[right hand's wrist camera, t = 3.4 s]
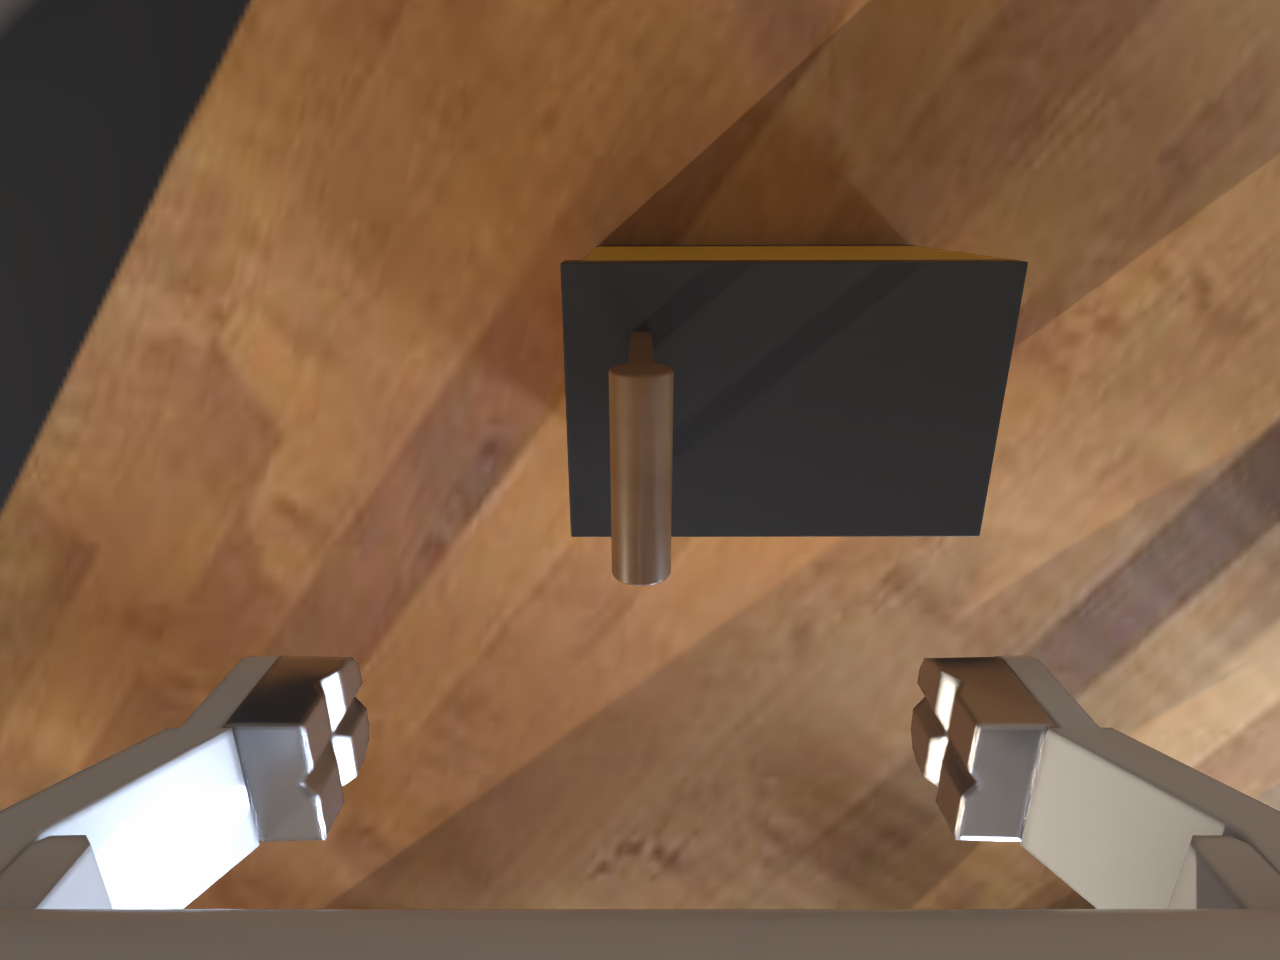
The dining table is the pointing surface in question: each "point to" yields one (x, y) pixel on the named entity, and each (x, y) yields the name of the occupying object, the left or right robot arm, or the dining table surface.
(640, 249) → the chest
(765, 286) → the lid
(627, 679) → the dining table surface
